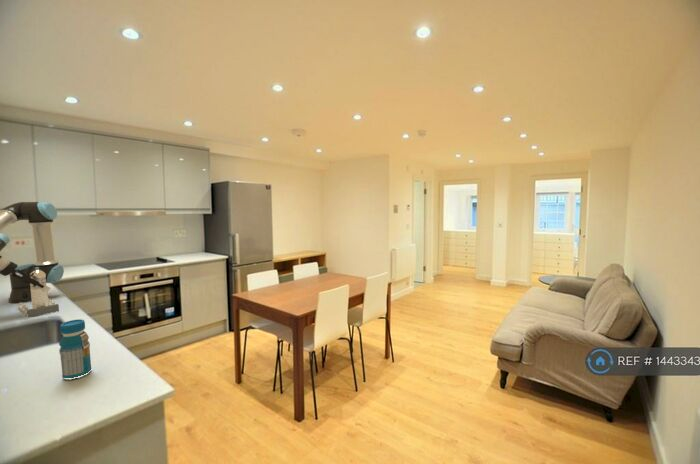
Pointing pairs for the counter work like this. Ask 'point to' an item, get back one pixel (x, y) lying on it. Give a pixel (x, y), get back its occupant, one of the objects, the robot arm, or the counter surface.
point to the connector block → (42, 310)
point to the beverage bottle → (74, 349)
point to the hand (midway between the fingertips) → (47, 289)
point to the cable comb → (24, 308)
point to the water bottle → (38, 289)
